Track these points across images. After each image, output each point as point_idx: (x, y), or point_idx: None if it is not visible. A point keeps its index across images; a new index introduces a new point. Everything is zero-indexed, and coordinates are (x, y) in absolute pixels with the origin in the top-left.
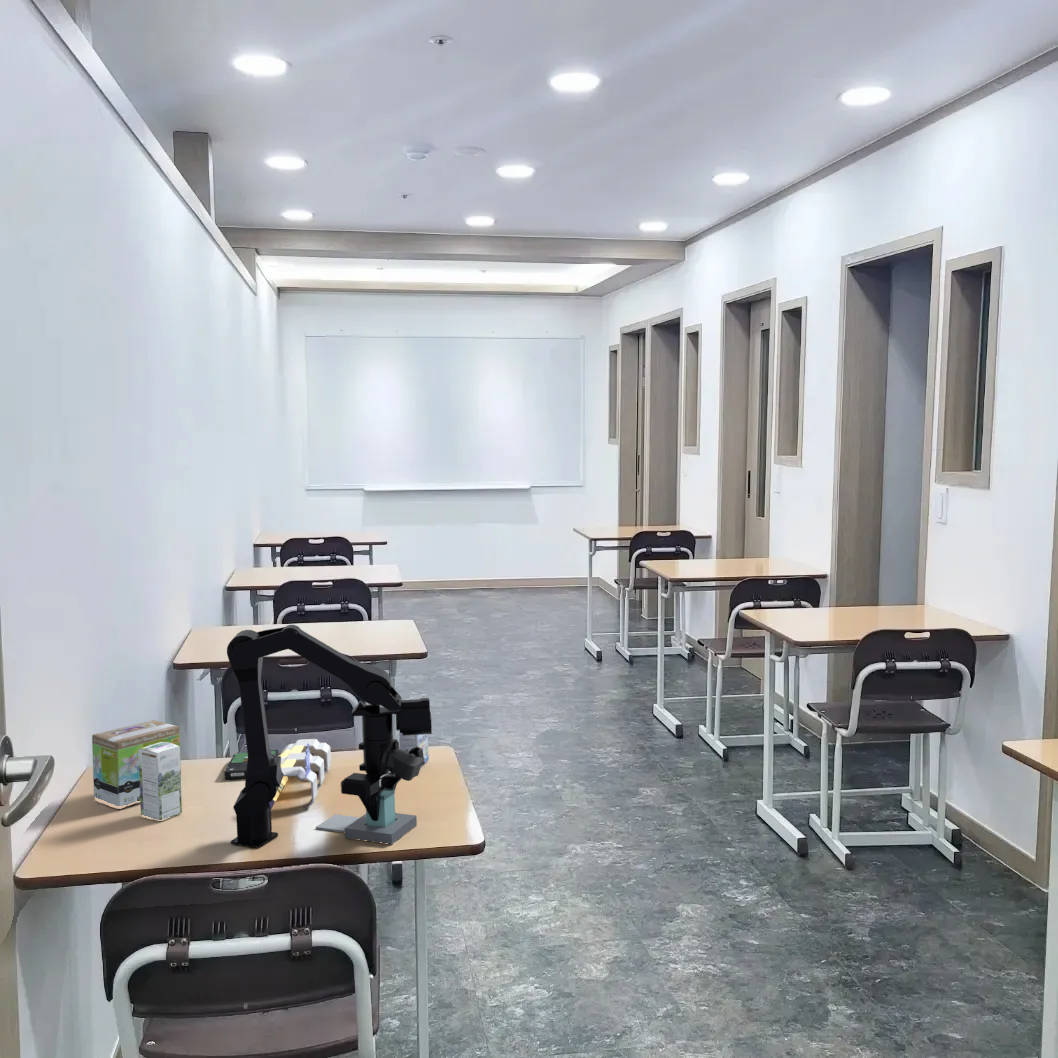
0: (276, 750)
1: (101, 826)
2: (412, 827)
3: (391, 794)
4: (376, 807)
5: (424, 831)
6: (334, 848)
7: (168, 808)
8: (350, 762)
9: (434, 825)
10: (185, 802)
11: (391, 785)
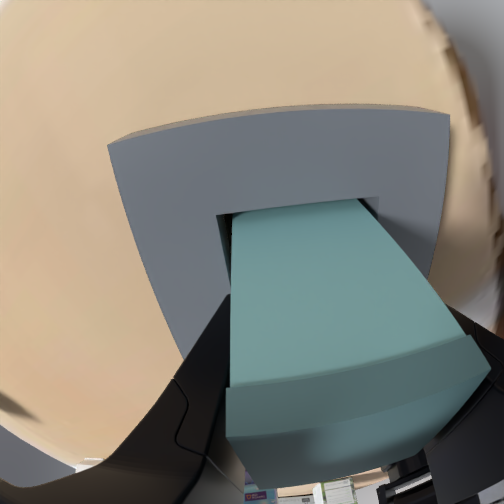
0: None
1: (368, 479)
2: (180, 121)
3: (319, 384)
4: (465, 319)
5: (182, 39)
6: (461, 289)
7: (342, 489)
8: (43, 443)
9: (86, 57)
10: (284, 491)
11: (207, 480)
